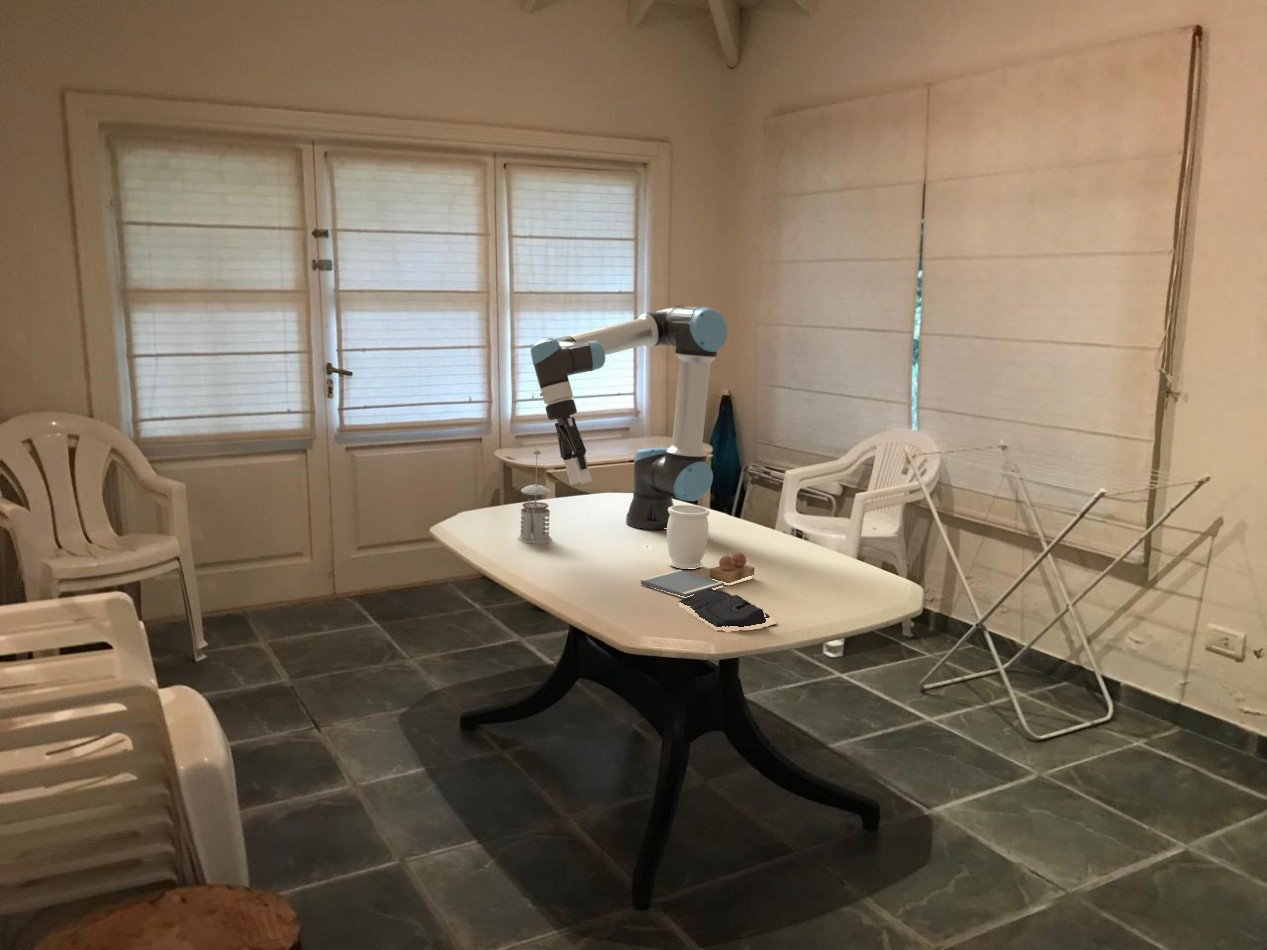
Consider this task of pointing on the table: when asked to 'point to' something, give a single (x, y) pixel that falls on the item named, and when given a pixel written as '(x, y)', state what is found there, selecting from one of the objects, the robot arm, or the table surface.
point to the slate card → (680, 583)
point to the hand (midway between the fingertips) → (581, 483)
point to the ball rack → (732, 569)
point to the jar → (687, 535)
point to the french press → (535, 515)
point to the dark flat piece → (724, 609)
